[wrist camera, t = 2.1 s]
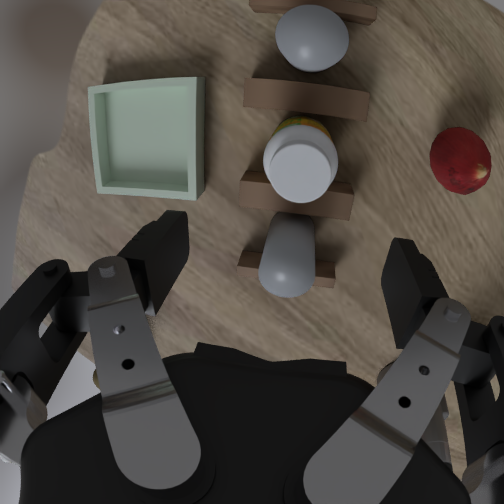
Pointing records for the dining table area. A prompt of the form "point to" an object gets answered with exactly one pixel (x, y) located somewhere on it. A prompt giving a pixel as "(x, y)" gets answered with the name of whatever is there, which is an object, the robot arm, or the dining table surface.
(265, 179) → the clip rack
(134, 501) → the robot arm
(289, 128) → the supplement bottle
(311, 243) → the cylinder
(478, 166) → the onion
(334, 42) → the front canister
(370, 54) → the dining table surface
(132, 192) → the tray
